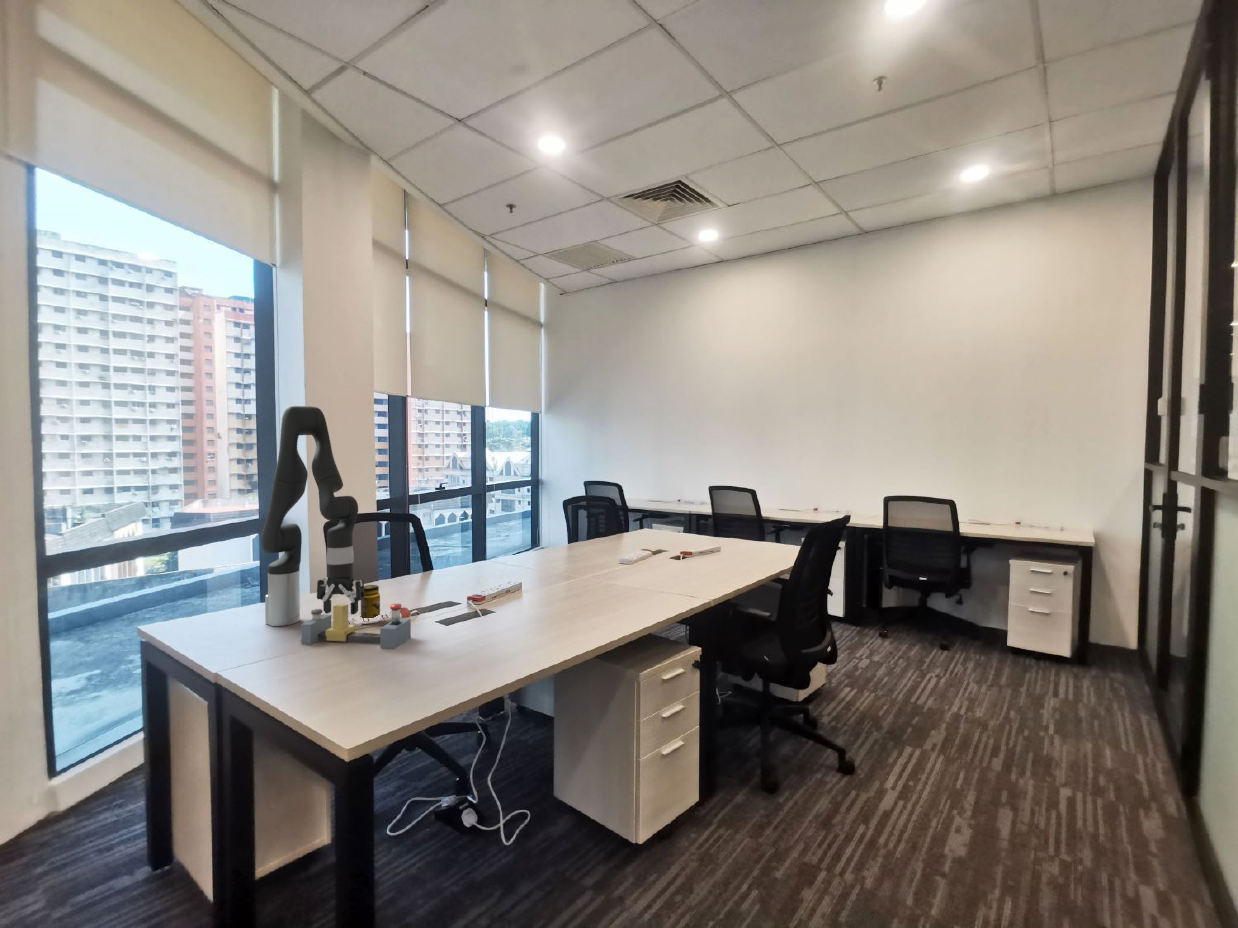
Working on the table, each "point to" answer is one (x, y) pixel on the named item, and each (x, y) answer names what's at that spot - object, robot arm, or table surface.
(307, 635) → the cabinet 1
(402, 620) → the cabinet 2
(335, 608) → the carriage
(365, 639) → the rail
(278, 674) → the table surface
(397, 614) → the plunger
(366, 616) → the condiment
